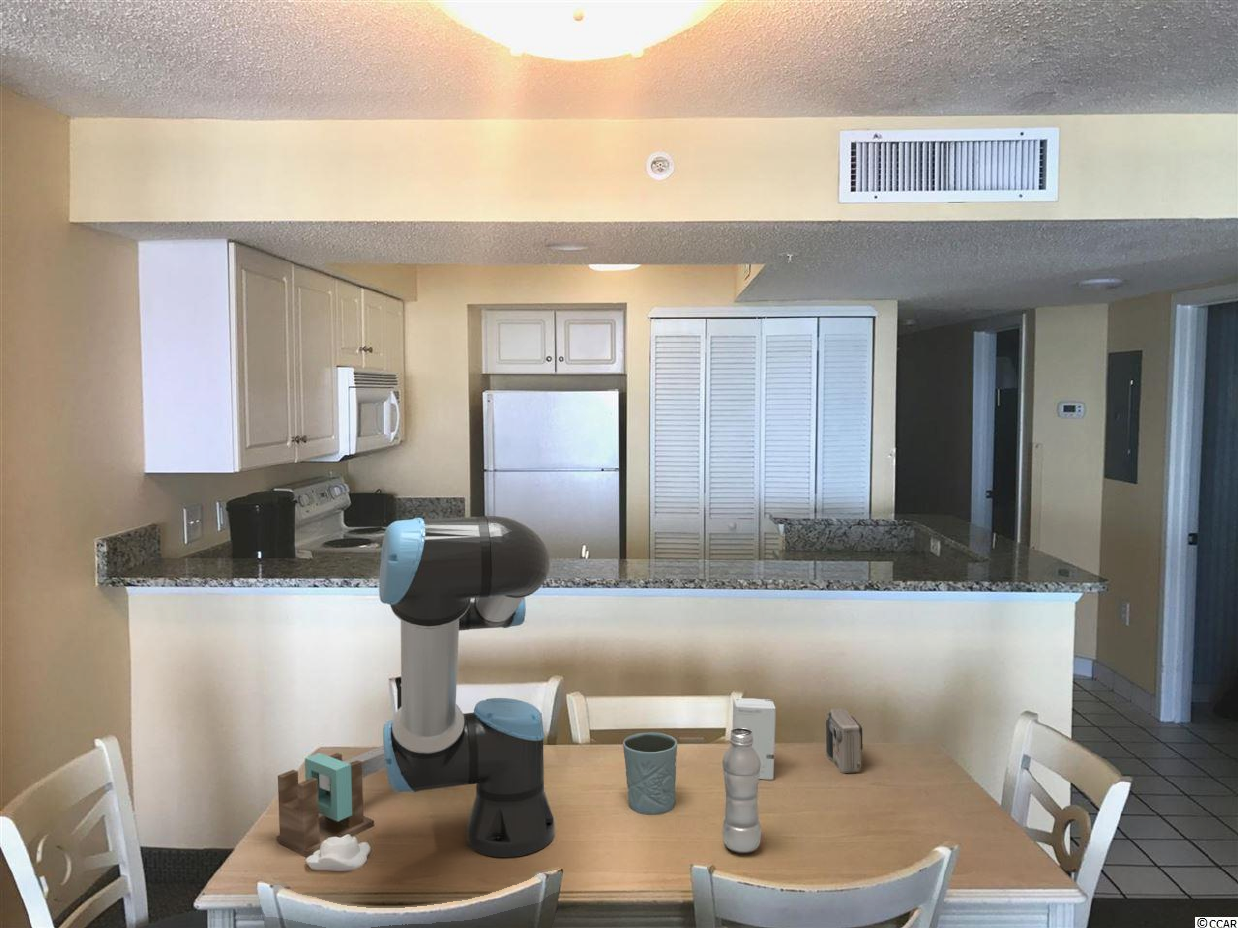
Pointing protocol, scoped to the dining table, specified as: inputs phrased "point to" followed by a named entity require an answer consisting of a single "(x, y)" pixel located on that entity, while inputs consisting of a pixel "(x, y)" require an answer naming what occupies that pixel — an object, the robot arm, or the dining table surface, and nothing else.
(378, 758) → the shaft
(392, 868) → the dining table surface
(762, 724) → the skincare box
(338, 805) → the block
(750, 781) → the plastic bottle
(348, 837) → the white cowboy hat
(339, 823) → the block
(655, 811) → the drinking glass
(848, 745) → the camera
